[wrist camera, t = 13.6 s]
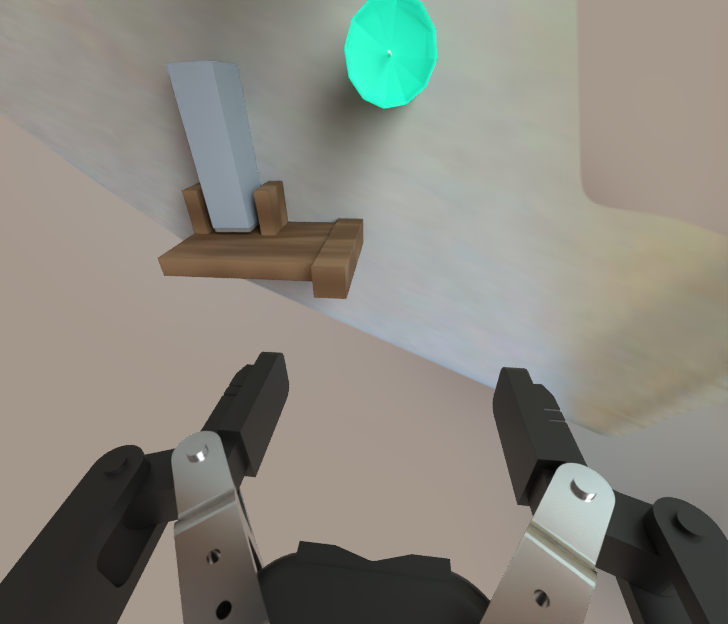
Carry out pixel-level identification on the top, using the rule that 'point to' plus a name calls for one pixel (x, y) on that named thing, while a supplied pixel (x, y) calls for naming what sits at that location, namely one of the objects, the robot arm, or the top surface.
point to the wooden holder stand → (269, 246)
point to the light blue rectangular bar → (219, 140)
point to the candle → (390, 51)
